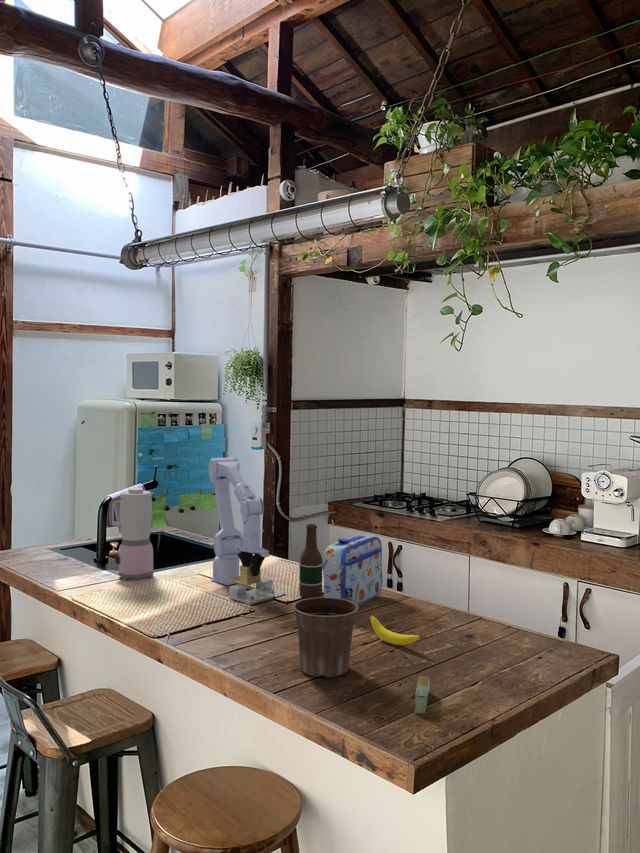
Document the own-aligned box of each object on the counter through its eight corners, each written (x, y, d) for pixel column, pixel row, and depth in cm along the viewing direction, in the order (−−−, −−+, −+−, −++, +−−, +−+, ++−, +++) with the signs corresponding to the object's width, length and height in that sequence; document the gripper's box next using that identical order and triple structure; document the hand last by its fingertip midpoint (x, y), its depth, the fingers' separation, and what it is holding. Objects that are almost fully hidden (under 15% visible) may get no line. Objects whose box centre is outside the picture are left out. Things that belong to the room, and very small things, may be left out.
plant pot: (320, 651, 198) (321, 592, 197) (369, 667, 188) (371, 604, 187) (279, 669, 186) (279, 606, 185) (329, 687, 176) (330, 620, 175)
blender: (150, 570, 277) (149, 485, 275) (157, 579, 266) (157, 490, 264) (106, 575, 271) (105, 487, 268) (112, 583, 260) (111, 492, 257)
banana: (415, 655, 197) (416, 632, 196) (365, 636, 211) (365, 614, 211) (423, 653, 199) (423, 629, 198) (372, 633, 213) (373, 612, 213)
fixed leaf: (229, 598, 245) (229, 586, 245) (264, 588, 257) (264, 577, 256) (249, 604, 238) (249, 593, 238) (285, 594, 250) (285, 583, 250)
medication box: (426, 715, 163) (427, 697, 162) (413, 713, 163) (414, 696, 163) (428, 692, 174) (429, 676, 174) (417, 691, 175) (418, 674, 175)
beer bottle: (319, 600, 244) (320, 527, 243) (296, 598, 246) (297, 526, 244) (324, 593, 252) (325, 523, 250) (301, 591, 254) (302, 521, 252)
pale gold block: (228, 580, 252) (228, 563, 251) (241, 577, 256) (241, 560, 256) (247, 585, 245) (246, 567, 245) (260, 581, 250) (260, 564, 249)
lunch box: (346, 617, 227) (347, 546, 226) (317, 611, 233) (318, 541, 231) (385, 595, 251) (387, 530, 249) (358, 590, 256) (359, 527, 255)
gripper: (228, 532, 250) (227, 572, 251) (257, 539, 240) (257, 581, 241) (243, 529, 255) (243, 568, 256) (273, 536, 245) (273, 577, 246)
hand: (251, 574), depth 249 cm, fingers closed on pale gold block, 3 cm apart
